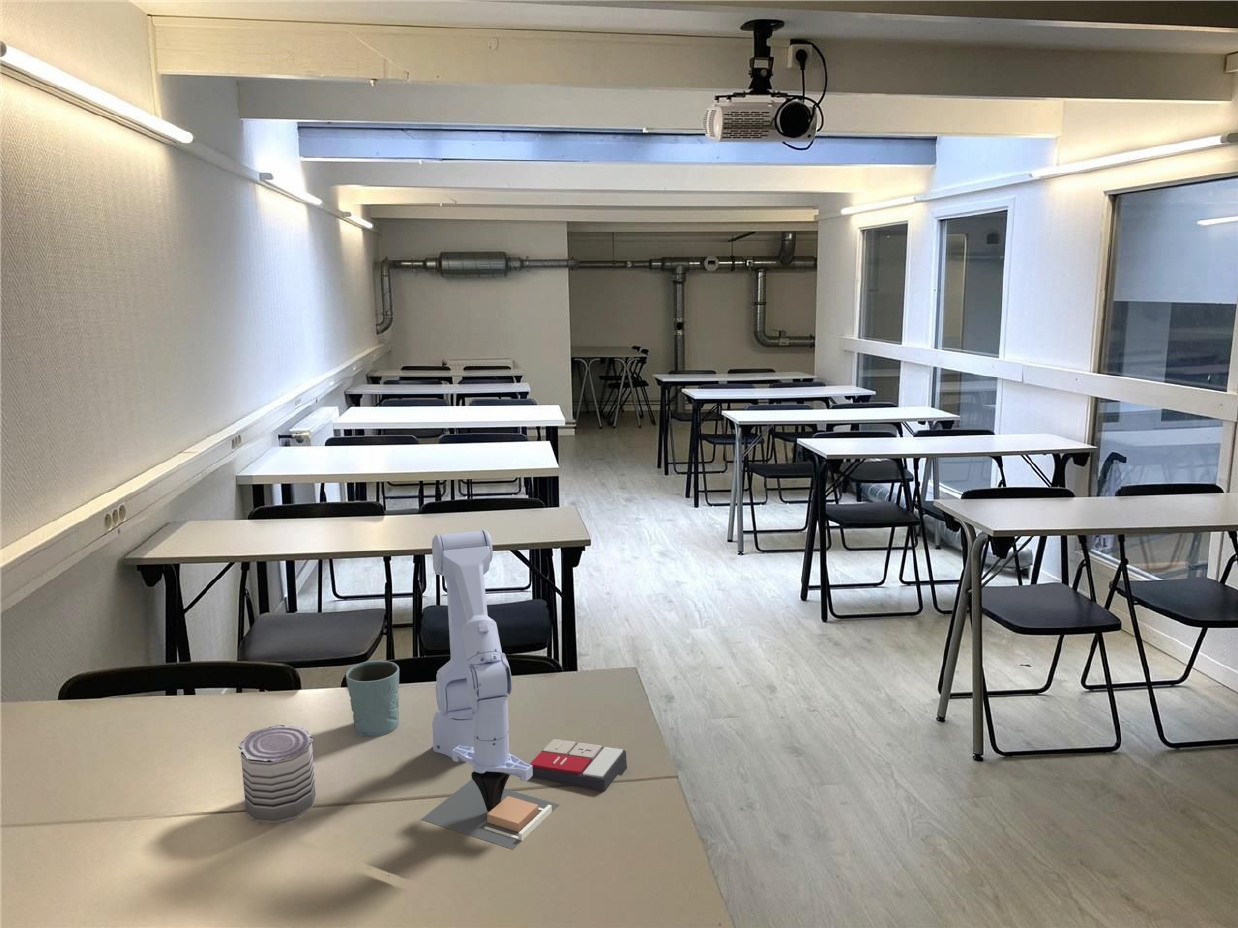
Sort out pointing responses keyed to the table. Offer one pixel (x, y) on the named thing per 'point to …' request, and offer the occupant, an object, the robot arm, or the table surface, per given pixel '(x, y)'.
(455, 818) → the mat
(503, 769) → the robot arm
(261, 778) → the can
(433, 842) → the table surface
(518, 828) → the tile
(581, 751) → the calculator
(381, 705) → the green cup
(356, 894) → the table surface
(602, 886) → the table surface
